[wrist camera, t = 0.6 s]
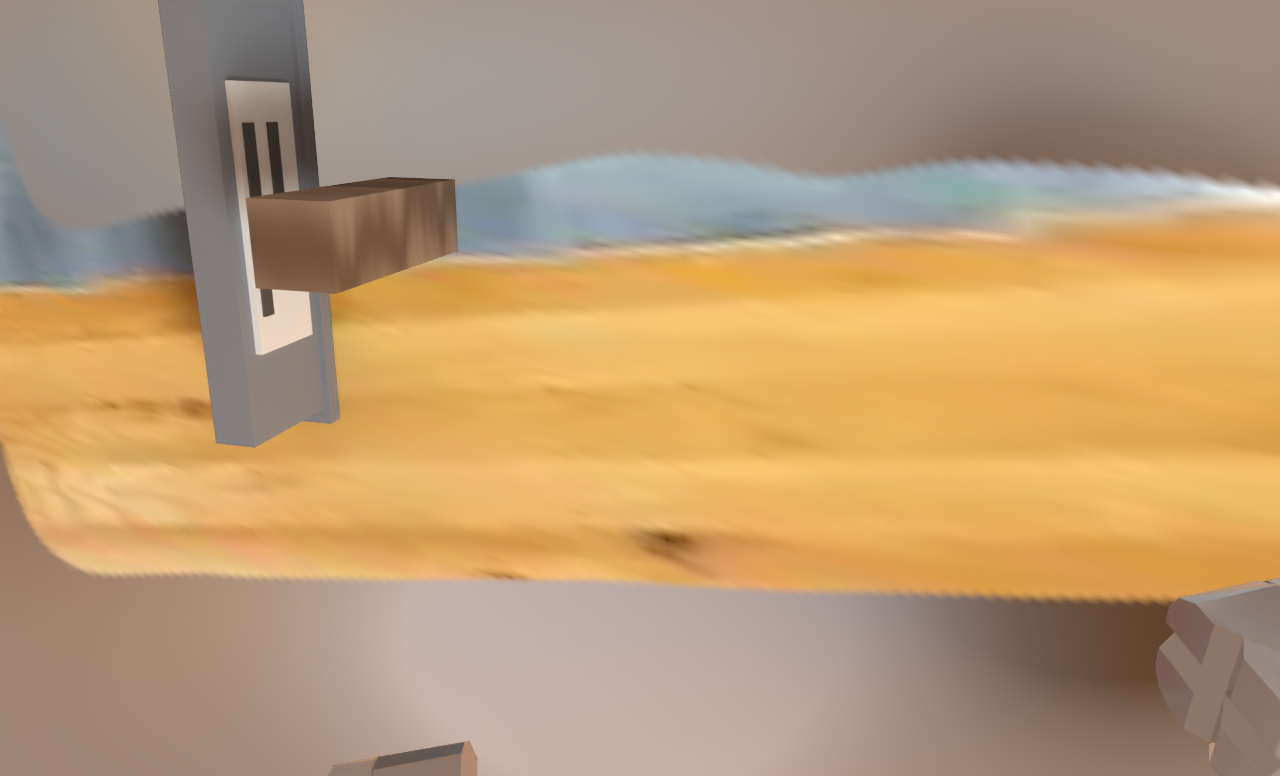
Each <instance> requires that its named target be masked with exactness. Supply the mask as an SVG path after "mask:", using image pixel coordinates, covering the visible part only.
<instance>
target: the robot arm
mask: <svg viewBox="0 0 1280 776" xmlns="http://www.w3.org/2000/svg"><path fill="white" fill-rule="evenodd" d="M1166 622H1167V623H1168V624H1169V626H1170V627H1171V628H1172V629H1173V631H1174V633H1173V634H1172V636H1170V637H1169V638H1168V639H1167V640H1166V641H1165V642H1164V643H1163V644H1162V645H1161V647H1159V651H1158V656H1157V662H1156V667H1155V668H1156V673H1157V677H1158V682H1159V686H1160V690H1161V692H1162V695H1163V697H1164V699H1165V701H1166V703H1167V705H1168V707H1169V709H1170V710H1171V712H1172V713H1173V715H1174V716H1175V717H1176V719H1177V720H1178V722H1179V723H1180V724H1181V726H1182V727H1183V729H1185V730H1187V731H1189V732H1190V733H1193V734H1194V735H1196V736H1198V737H1199V738H1201V739H1203V740H1205V741H1207V742H1208V743H1210V745H1209V746H1210V748H1209V764H1210V765H1211V767H1212V768H1213V769H1214V771H1215V772H1216V773H1217V774H1218V776H1280V578H1275V579H1271V580H1266V581H1255V582H1250V583H1245V584H1241V585H1236V586H1231V587H1227V588H1222V589H1217V590H1213V591H1208V592H1204V593H1199V594H1194V595H1190V596H1185V597H1180V598H1178V599H1177V600H1176V601H1175V602H1174V603H1172V604H1171V605H1170V608H1169V611H1168V615H1167V619H1166ZM328 776H477V756H476V754H475V752H474V750H473V747H472V745H471V743H470V741H467V742H461V743H455V744H450V745H443V746H438V747H432V748H426V749H421V750H415V751H409V752H403V753H398V754H392V755H386V756H381V757H380V756H379V757H374V758H369V759H364V760H359V761H354V762H348V763H343V764H339V765H333V768H332V769H331V772H330V774H329V775H328Z"/></svg>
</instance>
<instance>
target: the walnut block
mask: <svg viewBox="0 0 1280 776" xmlns="http://www.w3.org/2000/svg"><path fill="white" fill-rule="evenodd" d="M246 206H247V215H248V224H249V233H250V242H251V251H252V260H253V269H254V278H255V286H256V288H258V289H273V290H288V291H303V292H318V293H333V294H336V293H339V292H342V291H345V290H348V289H351V288H354V287H356V286H359V285H362V284H365V283H368V282H371V281H373V280H376V279H379V278H382V277H385V276H388V275H390V274H393V273H396V272H399V271H402V270H405V269H408V268H410V267H413V266H416V265H419V264H422V263H425V262H427V261H430V260H433V259H436V258H439V257H442V256H445V255H447V254H450V253H453V252H456V251H458V244H457V221H456V199H455V180H452V179H424V178H396V177H388V178H381V179H375V180H367V181H360V182H353V183H347V184H339V185H332V186H325V187H318V188H311V189H305V190H298V191H291V192H284V193H277V194H270V195H263V196H256V197H249V198H246Z"/></svg>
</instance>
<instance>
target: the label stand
mask: <svg viewBox="0 0 1280 776" xmlns="http://www.w3.org/2000/svg"><path fill="white" fill-rule="evenodd" d="M158 5H159V12H160V19H161V26H162V27H161V28H162V35H163V43H164V50H165V57H166V66H167V72H168V81H169V88H170V96H171V103H172V111H173V118H174V126H175V134H176V141H177V149H178V157H179V164H180V172H181V179H182V187H183V194H184V202H185V210H186V217H187V225H188V233H189V240H190V248H191V255H192V263H193V271H194V278H195V286H196V293H197V301H198V309H199V316H200V324H201V331H202V339H203V346H204V354H205V362H206V369H207V377H208V384H209V392H210V400H211V407H212V415H213V422H214V430H215V438H216V443H218V444H227V445H237V446H246V447H256V446H258V445H260V444H262V443H264V442H265V441H267V440H269V439H271V438H273V437H274V436H276V435H278V434H280V433H282V432H283V431H285V430H287V429H289V428H290V427H292V426H294V425H296V424H298V423H299V422H301V421H308V422H318V423H328V424H332V423H333V422H335V421H337V420H338V419H340V416H339V405H338V393H337V382H336V371H335V359H334V348H333V336H332V325H331V314H330V302H329V293H318V292H303V291H288V290H273V289H258V288H256V286H255V278H254V269H253V260H252V251H251V242H250V233H249V224H248V215H247V206H246V198H249V197H256V196H263V195H270V194H277V193H284V192H291V191H298V190H305V189H311V188H318V187H319V177H318V165H317V155H316V143H315V131H314V120H313V109H312V97H311V85H310V74H309V63H308V51H307V40H306V30H305V19H304V18H305V17H304V6H303V0H158Z"/></svg>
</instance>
